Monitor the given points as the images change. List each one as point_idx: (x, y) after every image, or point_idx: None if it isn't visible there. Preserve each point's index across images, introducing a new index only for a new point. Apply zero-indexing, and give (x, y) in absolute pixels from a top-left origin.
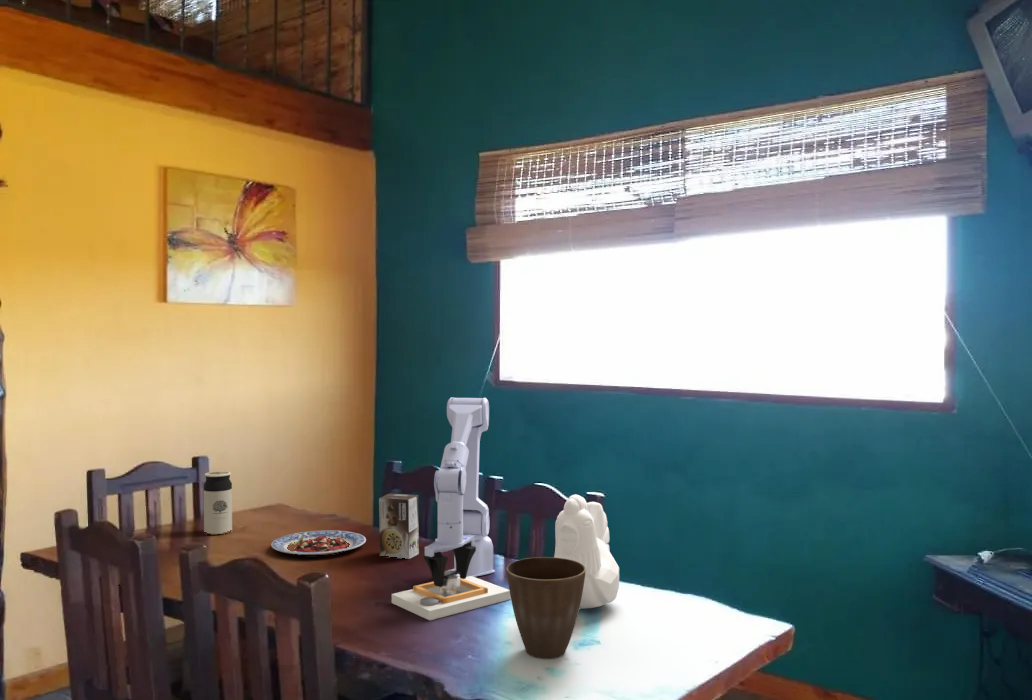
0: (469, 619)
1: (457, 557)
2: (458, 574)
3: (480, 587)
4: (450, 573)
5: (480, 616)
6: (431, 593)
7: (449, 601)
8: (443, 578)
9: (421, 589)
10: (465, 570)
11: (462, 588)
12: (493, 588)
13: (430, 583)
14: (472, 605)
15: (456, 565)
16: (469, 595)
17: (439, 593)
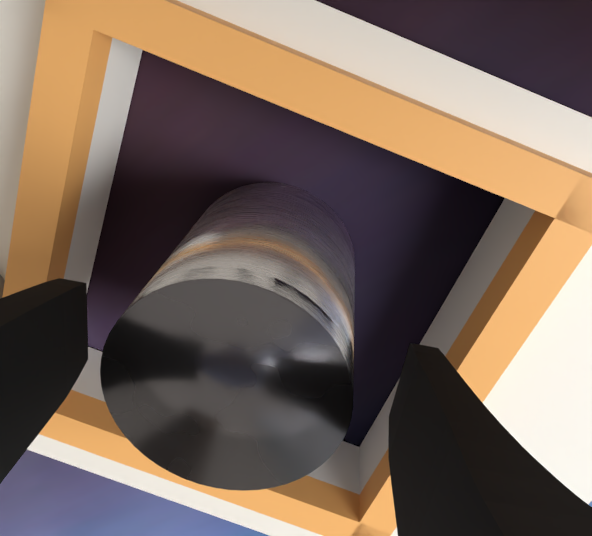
0: (61, 502)
1: (457, 522)
2: (246, 483)
3: (369, 512)
4: (231, 403)
5: (133, 527)
6: (12, 272)
7: None
8: (34, 425)
9: (32, 121)
10: (393, 500)
11: (471, 290)
12: None
13: (248, 81)
14: None
15: (441, 411)
16: None
17: (184, 237)
